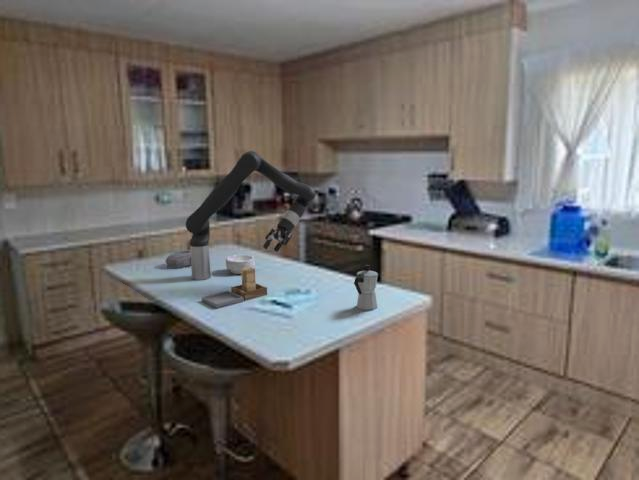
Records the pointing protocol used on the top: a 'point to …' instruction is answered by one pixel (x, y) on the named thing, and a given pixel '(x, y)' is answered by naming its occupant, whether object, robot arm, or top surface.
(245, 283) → the oak peg
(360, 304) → the coffee maker
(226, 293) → the tray
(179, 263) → the grey rounded bag
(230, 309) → the top surface
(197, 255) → the robot arm
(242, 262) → the paper bowls
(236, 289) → the square wooden frame
